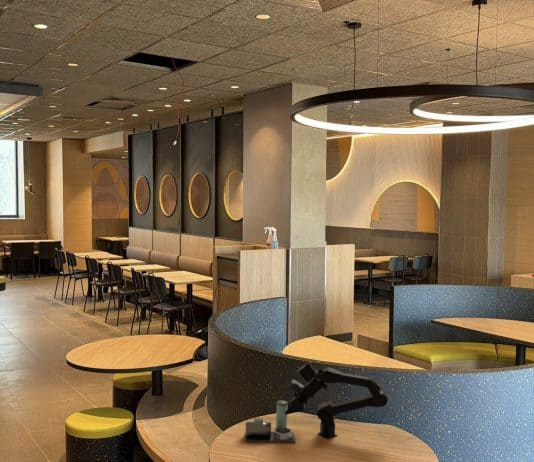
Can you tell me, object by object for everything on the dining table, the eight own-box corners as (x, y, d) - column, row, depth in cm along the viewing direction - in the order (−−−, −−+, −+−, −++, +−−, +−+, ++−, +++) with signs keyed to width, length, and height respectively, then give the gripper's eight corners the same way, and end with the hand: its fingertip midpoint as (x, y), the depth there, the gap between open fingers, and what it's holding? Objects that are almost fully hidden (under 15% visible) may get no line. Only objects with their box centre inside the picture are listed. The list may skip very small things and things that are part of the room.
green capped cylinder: (288, 430, 271) (289, 402, 270) (280, 433, 268) (281, 404, 267) (282, 427, 275) (283, 399, 274) (273, 429, 272) (274, 401, 272)
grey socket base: (292, 434, 267) (293, 415, 267) (295, 443, 257) (295, 423, 257) (245, 433, 266) (246, 414, 266) (245, 442, 256) (246, 423, 256)
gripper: (302, 369, 278) (278, 390, 281) (297, 381, 260) (271, 403, 262) (318, 387, 277) (294, 408, 280) (314, 400, 259) (288, 422, 261)
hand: (286, 410), depth 271 cm, fingers open, 9 cm apart
